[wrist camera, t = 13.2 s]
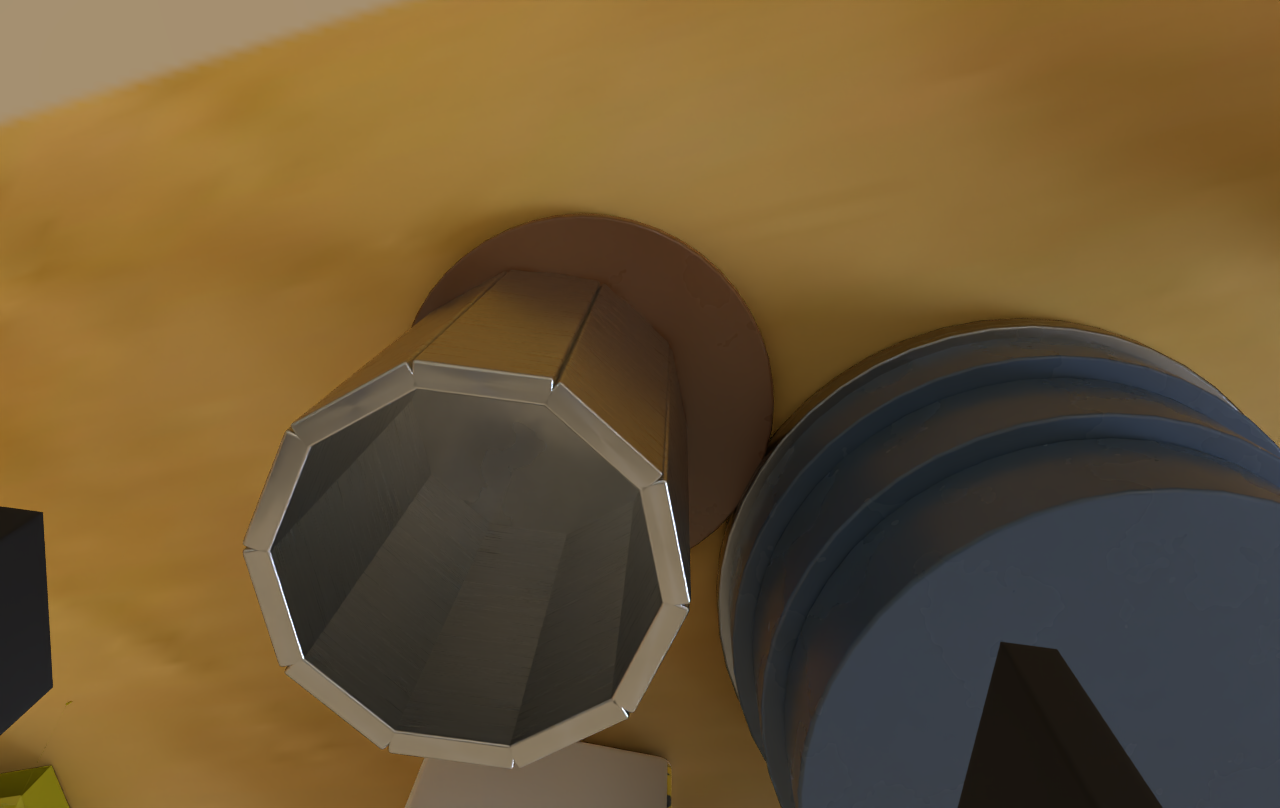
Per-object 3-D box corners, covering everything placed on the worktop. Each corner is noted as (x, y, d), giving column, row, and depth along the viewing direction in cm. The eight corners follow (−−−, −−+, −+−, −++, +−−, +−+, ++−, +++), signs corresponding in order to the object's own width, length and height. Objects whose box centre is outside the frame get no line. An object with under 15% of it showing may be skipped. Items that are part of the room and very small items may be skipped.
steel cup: (407, 253, 26) (244, 337, 16) (706, 292, 26) (721, 400, 16) (392, 519, 28) (239, 734, 18) (668, 555, 28) (661, 790, 18)
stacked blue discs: (762, 281, 26) (803, 365, 17) (1357, 358, 26) (1694, 480, 17) (682, 787, 30) (682, 1053, 22) (1191, 853, 30) (1393, 1146, 22)
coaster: (414, 189, 26) (408, 191, 25) (800, 239, 26) (803, 242, 25) (394, 544, 29) (388, 553, 28) (742, 589, 29) (743, 599, 28)
